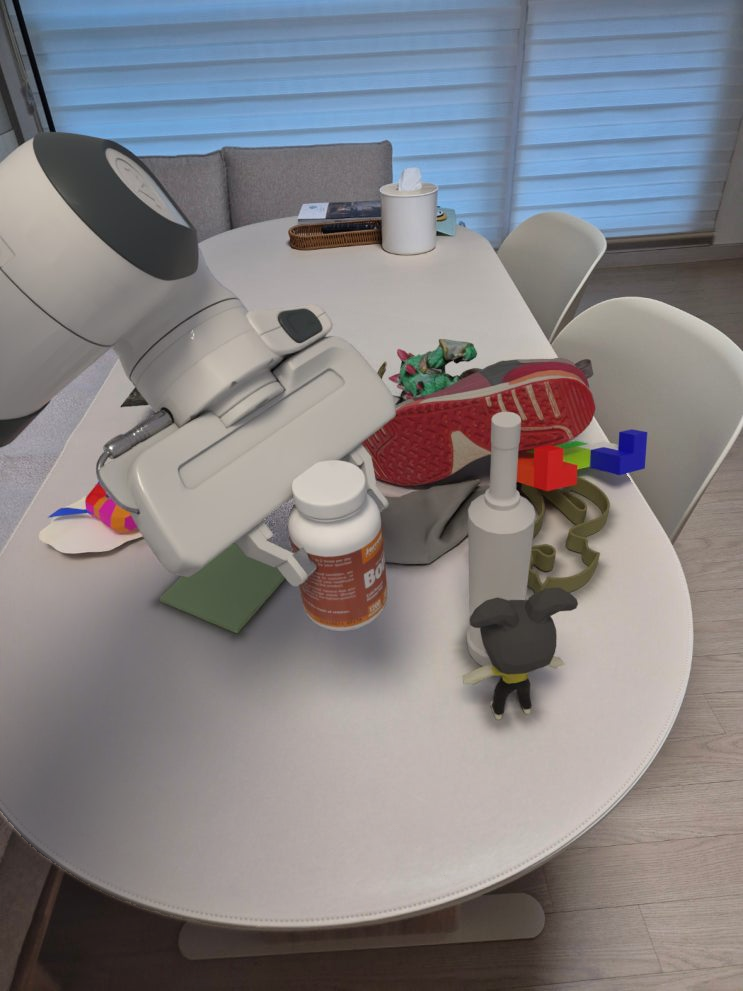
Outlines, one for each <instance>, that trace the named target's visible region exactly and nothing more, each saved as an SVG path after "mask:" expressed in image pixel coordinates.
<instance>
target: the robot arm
mask: <svg viewBox="0 0 743 991" xmlns="http://www.w3.org/2000/svg"><path fill="white" fill-rule="evenodd" d="M333 327H334V325H333V321H332V319H331V317H330V315H329V314H328V313H327V311H326V310H325V309H324V308H323V307H322V306H320V305H318V304H305V305H304V304H303V305H298V306H291V307H282V308H270V309H251V310H248V309H247V307H246V306H245V304H244V303H243V302H242V301H241V299H240V298H239V297H238V296H237V295H236V294H235V293H234V291H232V290H231V289H230V288H228V287H227V286H225V285H223V284H222V283H221V282H220V281H219V280H218V279H217V278H216V276H215V275H214V274H213V273H212V271H211V270H210V268H209V266H208V264H207V262H206V260H205V257H204V255H203V252H202V250H201V248H200V246H199V241H198V232H197V229H196V228H195V226H194V224H193V223H192V222H191V220H190V219H189V218H188V217H187V215H186V214H185V213H184V212H183V211H182V209H181V207H179V205H178V204H177V203H176V201H175V199H174V198H173V197H172V196H171V194H170V193H169V192H168V191H167V189H166V188H165V187H164V185H163V184H162V183H161V182H160V180H159V179H158V177H157V176H156V175H155V174H154V173H153V172H152V170H151V169H150V168H149V167H148V166H147V165H146V164H145V162H144V161H143V160H141V159H140V158H139V157H138V156H137V155H136V154H135V153H134V152H132V151H131V150H130V149H129V148H126V147H125V146H124V145H122V144H120V143H118V142H117V141H114V140H111V139H106V138H102V137H98V136H97V137H96V136H93V135H86V134H82V133H81V134H79V133H75V132H74V133H73V132H63V131H44V132H37V133H36V134H35V135H34V136H33V137H32V138H31V139H28V140H27V141H25V142H24V143H22V144H20V145H19V146H18V147H17V148H15V149H14V150H13V151H12V152H11V153H9V154H8V156H6V157H5V158H3V160H2V161H1V162H0V448H3V447H7V446H8V445H10V444H12V442H14V441H16V440H17V438H18V437H19V435H21V434H22V433H23V431H25V430H26V429H27V428H28V426H29V425H30V424H31V423H32V422H33V421H34V420H35V419H36V418H37V417H38V416H39V415H40V414H41V413H42V412H43V411H44V410H45V409H46V408H47V407H48V405H49V404H50V403H51V401H52V400H53V398H55V397H56V396H57V395H58V394H59V393H60V392H62V391H63V390H64V389H65V388H66V387H67V386H69V385H70V384H71V383H72V382H73V381H74V380H75V379H77V378H78V377H79V376H80V375H82V373H84V372H85V371H86V370H87V369H88V368H90V367H91V366H92V365H93V364H94V363H95V362H97V361H98V360H99V359H100V358H101V357H103V356H104V355H105V354H106V353H107V352H108V351H110V350H111V349H112V350H113V351H114V352H115V354H116V356H117V357H118V359H119V362H120V364H121V367H122V369H123V372H124V374H125V376H126V377H127V379H128V380H129V381H130V382H131V383H132V385H133V386H134V388H135V387H136V388H137V390H138V391H139V393H140V394H141V395H142V396H143V398H144V399H145V400H146V401H147V403H148V404H149V405H148V406H150V408H151V409H152V410H153V412H154V411H155V413H153V414H151V415H150V416H148V417H146V418H145V419H143V420H142V421H140V422H138V423H137V424H136V425H135V426H134V427H132V428H131V429H129V430H128V431H125V433H119V434H118V435H116V436H114V437H112V438H111V439H109V440H108V441H107V442H105V444H104V445H102V446H103V447H102V449H103V452H102V453H101V454H100V455H99V457H98V460H97V461H96V464H95V476H96V479H97V481H99V483H100V485H101V486H102V488H103V489H104V490H105V491H106V493H107V494H108V495H109V496H110V497H111V499H112V500H113V501H114V502H115V504H117V505H118V506H119V507H120V508H122V509H124V510H126V511H128V512H130V514H131V516H132V518H133V520H134V522H135V524H136V525H137V527H138V529H139V531H140V532H141V534H142V536H143V537H142V538H143V539H144V540H145V542H146V544H147V545H148V546H149V548H150V550H151V551H152V553H153V554H154V555H155V557H156V559H157V560H158V561H159V562H160V564H161V566H162V567H163V568H164V569H165V570H166V571H167V572H168V573H170V574H173V575H177V576H179V577H180V576H184V577H189V576H191V575H193V574H195V573H196V572H197V571H199V570H200V569H201V568H203V567H204V566H205V565H206V564H208V563H209V562H210V561H212V560H213V559H214V558H215V557H217V556H218V555H219V554H220V553H222V552H223V551H224V550H226V549H227V548H228V547H229V546H231V545H232V544H233V543H234V544H237V545H238V546H239V547H240V549H241V550H242V551H243V552H244V554H245V555H246V556H247V557H250V558H252V559H255V560H257V561H260V562H262V563H265V564H267V565H270V566H272V567H277V568H278V570H279V571H280V572H281V573H282V575H283V576H284V577H285V580H286V582H288V584H290V585H291V586H292V587H295V588H296V587H299V585H300V584H302V583H304V582H305V581H306V580H307V579H308V578H309V577H310V576H311V575H312V574H313V573H314V572H315V571H317V569H318V567H317V564H316V563H315V562H314V561H313V560H310V557H309V554H308V553H307V552H306V551H305V549H304V548H303V547H302V548H300V549H299V550H297V551H295V552H293V551H290V550H288V549H286V548H284V547H282V546H280V545H277V544H275V543H273V542H271V541H269V540H270V539H272V538H273V536H274V533H273V532H272V530H271V529H270V528H269V526H268V525H267V523H266V522H265V521H264V520H265V519H266V518H268V517H269V516H270V515H272V514H273V513H274V512H275V511H277V510H279V508H281V507H282V506H283V505H284V504H285V503H287V502H288V501H289V500H291V499H293V492H292V483H293V481H294V479H296V478H297V477H298V476H300V475H301V474H302V473H304V472H305V471H306V470H308V469H309V468H310V467H312V466H313V465H315V464H316V463H318V462H321V461H329V460H339V461H345V462H349V463H352V464H354V465H356V466H357V467H359V468H360V469H361V470H362V472H363V473H364V475H365V479H366V486H367V494H368V495H369V496H370V497H371V498H372V499H373V500H374V501H375V503H376V504H377V506H378V508H379V511H380V513H381V512H383V511H384V510H385V509H386V508H387V507H388V505H389V503H388V501H387V499H386V498H385V497H384V496H385V495H384V493H383V492H382V491H381V490H380V489H379V487H378V486H377V480H376V479H377V478H376V477H375V473H374V468H373V462H372V457H371V456H370V454H369V453H368V452H367V450H366V449H365V448H364V446H363V445H362V444H361V443H362V442H363V441H365V440H366V439H367V438H369V437H370V436H371V435H372V434H374V433H375V432H376V431H378V430H379V429H380V428H381V427H383V426H384V425H385V424H386V423H388V422H389V421H390V420H392V419H393V418H394V417H395V415H396V408H395V401H394V397H393V396H394V394H393V393H392V392H391V390H390V388H389V387H388V386H387V385H386V383H385V382H384V380H383V378H382V379H381V378H380V377H379V375H378V374H377V372H376V369H374V367H373V366H372V365H371V364H370V363H369V362H368V360H367V359H366V358H365V357H364V356H363V355H362V353H361V352H360V351H359V350H358V349H357V348H356V347H355V346H354V345H353V344H352V343H350V342H349V341H348V340H347V339H344V338H343V337H340V336H336V335H328V334H329V333H330V332H331V331H332V329H333ZM108 459H110V460H111V461H109V462H108V463H106V461H107V460H108Z"/></svg>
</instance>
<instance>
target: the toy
mask: <svg viewBox="0 0 743 991" xmlns="http://www.w3.org/2000/svg"><path fill="white" fill-rule="evenodd" d="M578 605H579V601H578V599H577V598H576V597H575V596H574V595H573V594H572V593H571V592H567V591H565V590H563V589H562V588H560V587H557V588H546V589H544V590H542V591H540V592H538V593H536V594H535V593H534V594H532V595H531V596H530V597H528V599H525V600H505V599H502V598H498V597H497V598H493V599H489V600H486V601H485V602H483V603H482V604H481V605H480V606H478V607H477V608H476V609H475V610H474V612H473V613H472V615H471V617H470V619H469V620H470V625H471V626H472V627H474V628H480V632H481V637H482V641H483V645H484V647H485V651H484V652H485V653H486V655H487V656H488V657H489V658H490V660H491V663H489V664H486V665H484V666H481V667H478V668H477V669H474V670H472V671H470V672H467V673H465V674H463V675H462V677H461V678H462V685H476V684H478V683H481V682H482V681H485V680H486V679H488V678H490V677H493V676H494V677H495V676H496V677H497V676H498V677H499V676H500V678H499V679H498V681H497V683H496V685H495V688H494V690H493V696H492V697H493V699H492V700H491V701H490V708H491V711H492V714H493V716H494V719H495V720H499V721H500V720H502V718H503V714H505V706H506V703H507V699H508V697H509V695H510V694H512V693H514V692H516V695H517V698H518V703H519V704H520V707H521V708H522V711H523V712H524V714H525V715H528V714H529V715H530V714H531V711H532V710H531V709H532V706H533V704H532V700H531V681H530V679H529V677H528V674H530V672H533V671H537V670H540V669H542V668H544V667H548V668H552V669H558V668H559V667H562V666H564V665H565V664H566V663H565V661H564V660H563V659H562V658H561V657H560V656H555V654H556V649H557V640H558V639H557V636H558V635H557V628H556V624H555V622H554V619H553V618H552V616H553V615H556V614H558V613H559V612H571V611H574V610H575V609H577V608H578ZM469 620H468V621H469Z"/></svg>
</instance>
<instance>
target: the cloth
mask: <svg viewBox="0 0 743 991" xmlns="http://www.w3.org/2000/svg"><path fill="white" fill-rule="evenodd" d="M480 484H481V479H467V480H463V481H462V480H461V481H459V482H454V483H450V484H444V485H443V484H441V485H435V486H432V487H429V488H427V489H419V490H413V491H410V492H408V493H405V494H403V495H401V496H388V495H384V497H385V498H386V499H387V501H388V503H389V505H388V507H387V508H386V509H385V510H384V511H383V512H381V513H380V516H381V523H382V534H383V545H384V557H385V563H386V562H387V563H393V564H404V565H406V564H407V565H419V564H431V563H432V562H434V561H435V560H437V559H438V558H439V557H441V556H443V555H444V554H445V553H447V552H448V551H450V550H451V549H453V548H454V547H456V546H457V545H459V544H460V543H461V541H463V539H465V538H466V537H467V536H468V509H469V507H470V505H471V502H472V501H474V500H475V499H476V498H477V497H479V496H480V495H483V494H485V492H486V490H487V489H489V488H490V484H487V485H480ZM518 487H519V484H518V483H516V489H517V488H518Z"/></svg>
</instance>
